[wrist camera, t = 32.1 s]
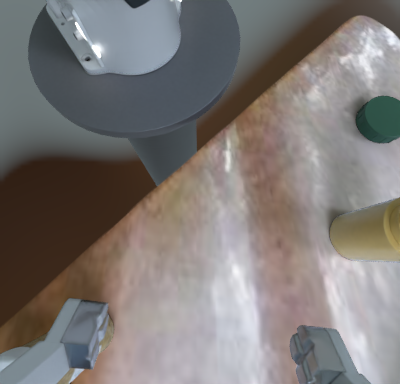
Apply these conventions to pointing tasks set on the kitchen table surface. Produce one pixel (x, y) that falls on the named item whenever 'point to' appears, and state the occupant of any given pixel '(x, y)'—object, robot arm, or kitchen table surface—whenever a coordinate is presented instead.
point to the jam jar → (369, 233)
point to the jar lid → (380, 119)
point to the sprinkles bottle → (11, 355)
